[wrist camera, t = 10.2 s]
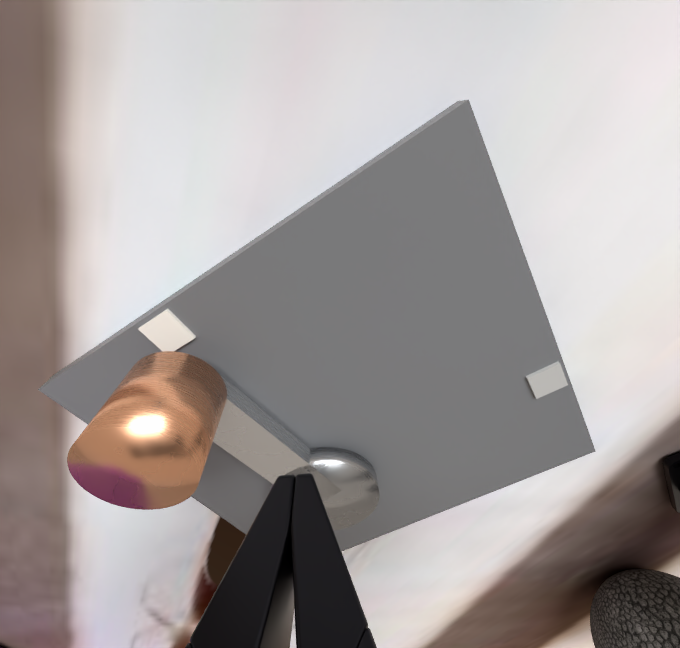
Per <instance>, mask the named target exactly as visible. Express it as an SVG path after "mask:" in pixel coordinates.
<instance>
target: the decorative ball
mask: <svg viewBox="0 0 680 648" xmlns="http://www.w3.org/2000/svg"><path fill="white" fill-rule="evenodd" d="M590 626H591V633H592V638H593V642H594V645H595V648H680V578H679V577H676V576H674V575H671V574H667V573H664V572H660V571H655V570H647V569H632V570H626V571H622V572H619V573H616V574H614V575H612V576H611V577H609V578H608V579H607V580H605V581H604V582H603V583H602V585H601V586H600V587H599V589H598V590H597V592H596V594H595V596H594V598H593V601H592V605H591V610H590Z"/></svg>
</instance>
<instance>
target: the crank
mask: <svg viewBox="0 0 680 648" xmlns="http://www.w3.org/2000/svg"><path fill="white" fill-rule="evenodd" d="M212 442H214V443H216V444H217V445H218V446H220V447H221V448H223V449H224V450H226V451H227V452H228V453H230V454H231V455H233V456H234V457H235V458H237V459H238V460H240V461H241V462H242V463H244V464H245V465H247V466H248V467H250V468H251V469H252V470H254V471H255V472H257V473H258V474H259V475H261V476H262V477H264V478H265V479H267V480H268V481H269V482H271V487H270V490H271V488H272V486H273V484H274V483H275V481H276V479H277V478H278V477H279V476H280V475H295V477H296V475H298V474H307V473H311V474H312V475H313V477H314V479H315V482H316V485H317V487H318V490H319V493H320V496H321V498H322V501H323V504H324V506H325V509H326V512H327V515H328V517H329V520H330V523H331V525H332V528H333V530H339V529H343V528H347V527H350V526H353V525H355V524H357V523H359V522H361V521H362V520H364V519H365V518H367V517H368V516H369V515H370V514H371V513H372V512H373V511H374V510H375V508H376V506H377V504H378V502H379V487H378V481H377V476H376V472H375V469H374V467H373V466H372V465H371V463H370V462H369V461H368V460H367V459H365V458H364V457H363V456H361V455H359V454H357V453H355V452H353V451H350V450H346V449H342V448H335V447H318V448H311V449H310V448H309V447H308V446H306V445H305V444H304V443H303V442H302V441H300V440H299V439H298V438H297V437H295V436H294V435H293V434H292V433H291V432H289V431H288V430H287V429H286V428H285V427H283V426H282V425H281V424H280V423H278V422H277V421H276V420H275V419H274V418H272V417H271V416H270V415H269V414H268V413H266V412H265V411H264V410H263V409H262V408H260V407H259V406H258V405H257V404H255V403H254V402H253V401H252V400H251V399H249V398H248V397H247V396H246V395H245V394H243V393H242V392H241V391H240V390H239V389H237V388H236V387H235V386H234V385H232V384H231V383H230V382H229V381H228V380H226V379H225V378H224V377H223V376H222V375H220V374H219V373H218V372H217V371H216V370H215V369H214V368H213V367H212V366H211V365H209V364H208V363H207V362H205V361H203V360H202V359H200V358H197V357H195V356H192V355H190V354H186V353H182V352H175V351H164V352H157V353H153V354H150V355H147V356H145V357H143V358H142V359H140V360H139V361H138V362H137V363H135V365H134V366H133V367H132V368H131V370H130V371H129V372H128V374H127V375H126V376H125V378H124V379H123V380H122V381H121V383H120V384H119V385H118V387H117V388H116V389H115V391H114V392H113V393H112V395H111V396H110V397H109V398H108V400H107V401H106V402H105V404H104V405H103V406H102V408H101V409H100V410H99V411H98V413H97V414H96V415H95V417H94V418H93V419H92V421H91V422H90V423H89V425H88V426H87V427H86V428H85V430H84V431H83V432H82V434H81V435H80V436H79V438H78V439H77V440H76V441H75V443H74V444H73V445H72V447H71V448H70V450H69V453H68V457H67V462H68V467H69V470H70V473H71V475H72V476H73V478H74V479H75V480H76V482H77V483H78V484H79V485H80V486H81V487H83V488H84V489H85V490H86V491H88V492H89V493H90V494H92V495H94V496H96V497H97V498H99V499H102V500H104V501H106V502H109V503H111V504H115V505H118V506H122V507H127V508H133V509H161V508H167V507H170V506H174V505H176V504H179V503H181V502H183V501H185V500H186V499H188V498H189V497H190V496H191V495H192V494H193V493H194V492H195V490H196V489H197V487H198V484H199V481H200V478H201V475H202V472H203V469H204V466H205V463H206V460H207V457H208V454H209V451H210V448H211V445H212Z"/></svg>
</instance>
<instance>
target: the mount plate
mask: <svg viewBox="0 0 680 648" xmlns="http://www.w3.org/2000/svg"><path fill="white" fill-rule="evenodd" d="M164 351H175V352H182V353H186V354H190V355H192V356H195V357H197V358H200V359H202V360H203V361H205V362H207V363H208V364H209V365H211V366H212V367H213V368H214V369H215V370H216V371H217V372H218V373H219V374H220V375H222V376H223V377H224V378H225V379H226V380H228V381H229V382H230V383H231V384H232V385H234V386H235V387H236V388H237V389H239V390H240V391H241V392H242V393H243V394H245V395H246V396H247V397H248V398H249V399H251V400H252V401H253V402H254V403H255V404H257V405H258V406H259V407H260V408H262V409H263V410H264V411H265V412H266V413H268V414H269V415H270V416H271V417H272V418H274V419H275V420H276V421H277V422H278V423H280V424H281V425H282V426H283V427H285V428H286V429H287V430H288V431H289V432H291V433H292V434H293V435H294V436H295V437H297V438H298V439H299V440H300V441H302V442H303V443H304V444H305V445H306V446H308V447H309V448H310V449H311V448H318V447H335V448H342V449H346V450H350V451H353V452H355V453H357V454H359V455H361V456H363V457H364V458H365V459H367V460H368V461H369V462H370V463H371V465H372V466H373V467H374V469H375V472H376V476H377V481H378V487H379V502H378V504H377V506H376V508H375V510H374V511H373V512H372V513H371V514H370V515H369V516H368V517H367V518H365V519H364V520H362V521H361V522H359V523H357V524H355V525H353V526H350V527H347V528H343V529H339V530H333V531H334V534H335V536H336V539H337V542H338V544H339V547H340V550H341V551H344V550H346V549H349V548H351V547H354V546H356V545H359V544H361V543H364V542H366V541H369V540H372V539H374V538H377V537H379V536H382V535H384V534H387V533H389V532H392V531H394V530H397V529H399V528H402V527H405V526H407V525H410V524H412V523H415V522H417V521H420V520H422V519H425V518H427V517H430V516H432V515H435V514H437V513H440V512H443V511H445V510H448V509H450V508H453V507H455V506H458V505H460V504H463V503H465V502H468V501H470V500H473V499H475V498H478V497H481V496H483V495H486V494H488V493H491V492H493V491H496V490H498V489H501V488H503V487H506V486H508V485H511V484H514V483H516V482H519V481H521V480H524V479H526V478H529V477H531V476H534V475H536V474H539V473H541V472H544V471H546V470H549V469H552V468H554V467H557V466H559V465H562V464H564V463H567V462H569V461H572V460H574V459H577V458H579V457H582V456H585V455H587V454H590V453H592V452H595V449H594V446H593V443H592V440H591V437H590V435H589V432H588V429H587V426H586V424H585V421H584V418H583V415H582V413H581V410H580V407H579V404H578V401H577V399H576V396H575V393H574V390H573V388H572V385H571V382H570V379H569V377H568V374H567V371H566V368H565V365H564V363H563V360H562V357H561V354H560V352H559V349H558V346H557V343H556V340H555V338H554V335H553V332H552V329H551V327H550V324H549V321H548V318H547V316H546V313H545V310H544V307H543V304H542V302H541V299H540V296H539V293H538V291H537V288H536V285H535V282H534V280H533V277H532V274H531V271H530V268H529V266H528V263H527V260H526V257H525V255H524V252H523V249H522V246H521V244H520V241H519V238H518V235H517V232H516V230H515V227H514V224H513V221H512V219H511V216H510V213H509V210H508V208H507V205H506V202H505V199H504V196H503V194H502V191H501V188H500V185H499V183H498V180H497V177H496V174H495V172H494V169H493V166H492V163H491V160H490V158H489V155H488V152H487V149H486V147H485V144H484V141H483V138H482V135H481V133H480V130H479V127H478V124H477V122H476V119H475V116H474V113H473V111H472V108H471V105H470V102H469V100H464V101H458V102H456V103H455V104H453V105H452V106H450V107H449V108H447V109H446V110H444V111H443V112H441V113H440V114H438V115H437V116H436V117H434V118H433V119H431V120H430V121H428V122H427V123H425V124H424V125H422V126H421V127H419V128H418V129H416V130H415V131H413V132H412V133H410V134H409V135H407V136H406V137H405V138H403V139H402V140H400V141H399V142H397V143H396V144H394V145H393V146H391V147H390V148H388V149H387V150H385V151H384V152H382V153H381V154H379V155H378V156H376V157H375V158H374V159H372V160H371V161H369V162H368V163H366V164H365V165H363V166H362V167H360V168H359V169H357V170H356V171H354V172H353V173H351V174H350V175H348V176H347V177H346V178H344V179H343V180H341V181H340V182H338V183H337V184H335V185H334V186H332V187H331V188H329V189H328V190H326V191H325V192H323V193H322V194H320V195H319V196H317V197H316V198H315V199H313V200H312V201H310V202H309V203H307V204H306V205H304V206H303V207H301V208H300V209H298V210H297V211H295V212H294V213H292V214H291V215H289V216H288V217H286V218H285V219H284V220H282V221H281V222H279V223H278V224H276V225H275V226H273V227H272V228H270V229H269V230H267V231H266V232H264V233H263V234H261V235H260V236H258V237H257V238H255V239H254V240H253V241H251V242H250V243H248V244H247V245H245V246H244V247H242V248H241V249H239V250H238V251H236V252H235V253H233V254H232V255H230V256H229V257H227V258H226V259H224V260H223V261H222V262H220V263H219V264H217V265H216V266H214V267H213V268H211V269H210V270H208V271H207V272H205V273H204V274H202V275H201V276H199V277H198V278H196V279H195V280H193V281H192V282H191V283H189V284H188V285H186V286H185V287H183V288H182V289H180V290H179V291H177V292H176V293H174V294H173V295H171V296H170V297H168V298H167V299H165V300H164V301H162V302H161V303H160V304H158V305H157V306H155V307H154V308H152V309H151V310H149V311H148V312H146V313H145V314H143V315H142V316H140V317H139V318H137V319H136V320H134V321H133V322H131V323H130V324H129V325H127V326H126V327H124V328H123V329H121V330H120V331H118V332H117V333H115V334H114V335H112V336H111V337H109V338H108V339H106V340H105V341H103V342H102V343H100V344H99V345H98V346H96V347H95V348H93V349H92V350H90V351H89V352H87V353H86V354H84V355H83V356H81V357H80V358H78V359H77V360H75V361H74V362H72V363H71V364H69V365H68V366H67V367H65V368H64V369H62V370H61V371H59V372H58V373H56V374H55V375H53V376H52V377H51V378H50V379H49V380H48V381H47V382H46V383H45V384H44V385H43V386H41V387H40V388H39V389H38V390H39V391H41V392H42V393H44V394H45V395H47V396H48V397H50V398H51V399H52V400H54V401H55V402H57V403H58V404H60V405H61V406H62V407H64V408H65V409H67V410H68V411H70V412H71V413H72V414H74V415H75V416H77V417H78V418H80V419H81V420H83V421H84V422H85V423H87V424H88V425H89V423H90V422H91V421H92V419H93V418H94V417H95V415H96V414H97V413H98V411H99V410H100V409H101V408H102V406H103V405H104V404H105V402H106V401H107V400H108V398H109V397H110V396H111V395H112V393H113V392H114V391H115V389H116V388H117V387H118V385H119V384H120V383H121V381H122V380H123V379H124V378H125V376H126V375H127V374H128V372H129V371H130V370H131V368H132V367H133V366H134V365H135V363H137V362H138V361H139V360H140V359H142V358H143V357H145V356H147V355H150V354H153V353H157V352H164ZM270 487H271V482H269V481H268V480H267V479H265V478H264V477H262V476H261V475H259V474H258V473H257V472H255V471H254V470H252V469H251V468H250V467H248V466H247V465H245V464H244V463H242V462H241V461H240V460H238V459H237V458H235V457H234V456H233V455H231V454H230V453H228V452H227V451H226V450H224V449H223V448H221V447H220V446H218V445H217V444H216V443H214V442H212V445H211V448H210V451H209V454H208V457H207V460H206V463H205V466H204V469H203V472H202V475H201V478H200V481H199V484H198V487H197V489H196V490H195V492H194V493H193V494H192V495H191V496H192V497H193V498H195V499H196V500H197V501H199V502H200V503H202V504H203V505H205V506H206V507H207V508H209V509H210V510H212V511H213V512H215V513H216V514H217V515H219V516H220V517H222V518H223V519H225V520H226V521H228V522H229V523H230V524H232V525H233V526H235V527H236V528H238V529H239V530H240V531H242V532H243V533H245V534H247V533H248V531H249V529H250V527H251V525H252V523H253V521H254V520H255V518H256V516H257V514H258V512H259V510H260V508H261V507H262V505H263V503H264V501H265V499H266V497H267V496H268V494H269V492H270Z"/></svg>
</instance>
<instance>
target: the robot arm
mask: <svg viewBox="0 0 680 648" xmlns="http://www.w3.org/2000/svg"><path fill="white" fill-rule="evenodd" d="M663 466H664V470H665V475H666V480H667V485H668V489H669V494H670V499H671V503H672V506H673V508H674V509H675V510H676V511H677V512H679V513H680V453H677V454H675V455H672V456H670V457H668V458H666V459H665V460H664V461H663ZM294 608H295V626H296V645H297V648H377V647H376V644H375V642H374V639H373V636H372V633H371V631H370V629H369V628H368V623H367V620H366V618H365V615H364V612H363V609H362V607H361V604H360V601H359V599H358V596H357V593H356V591H355V588H354V585H353V582H352V580H351V577H350V574H349V572H348V569H347V566H346V563H345V561H344V558H343V555H342V553H341V550H340V547H339V544H338V542H337V539H336V536H335V534H334V531H333V528H332V525H331V523H330V520H329V517H328V515H327V512H326V509H325V506H324V504H323V501H322V498H321V496H320V493H319V490H318V487H317V485H316V482H315V479H314V477H313V475H312V474H311V473H307V474H298V475H296V477H295V475H280V476H279V477H278V478H277V479H276V481H275V483H274V484H273V486H272V488H271V490H270V492H269V494H268V496H267V497H266V499H265V501H264V503H263V505H262V507H261V508H260V510H259V512H258V514H257V516H256V518H255V520H254V521H253V523H252V525H251V527H250V529H249V531H248V533H247V534H246V536H245V538H244V540H243V542H242V544H241V546H240V547H239V549H238V551H237V553H236V555H235V557H234V558H233V560H232V562H231V564H230V566H229V568H228V570H227V571H226V573H225V575H224V577H223V579H222V581H221V582H220V584H219V586H218V588H217V590H216V592H215V594H214V595H213V597H212V599H211V601H210V603H209V605H208V607H207V608H206V610H205V612H204V614H203V616H202V618H201V619H200V621H199V623H198V625H197V627H196V629H195V631H194V632H193V634H192V636H191V638H190V642H191V643H188V644H187V645H186V647H185V648H290V640H291V631H292V622H293V614H294Z"/></svg>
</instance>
